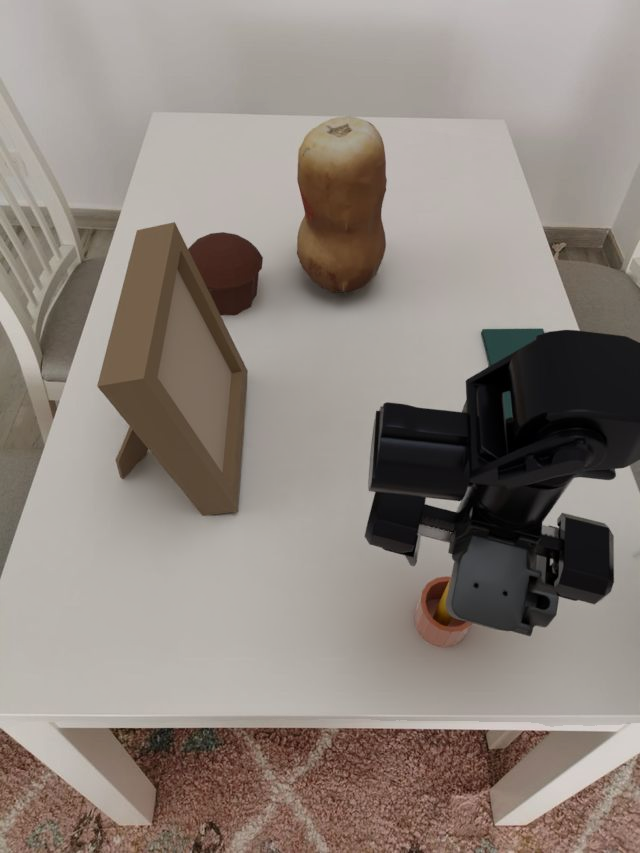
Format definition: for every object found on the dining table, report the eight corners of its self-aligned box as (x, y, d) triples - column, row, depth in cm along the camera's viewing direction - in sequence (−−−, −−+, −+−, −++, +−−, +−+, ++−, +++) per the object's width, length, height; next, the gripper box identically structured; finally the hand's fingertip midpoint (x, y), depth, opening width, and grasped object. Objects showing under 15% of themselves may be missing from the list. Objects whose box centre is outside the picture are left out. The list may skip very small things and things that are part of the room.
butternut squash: (289, 260, 101) (283, 105, 80) (368, 247, 103) (381, 93, 82) (309, 318, 93) (308, 162, 73) (394, 303, 95) (416, 148, 75)
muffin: (178, 314, 93) (165, 260, 85) (203, 267, 99) (194, 213, 91) (254, 327, 91) (248, 274, 83) (274, 279, 98) (271, 225, 90)
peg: (450, 613, 66) (471, 573, 57) (448, 630, 65) (469, 592, 56) (433, 609, 66) (452, 569, 57) (431, 625, 65) (449, 587, 56)
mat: (577, 443, 80) (580, 439, 79) (508, 444, 79) (510, 440, 79) (541, 332, 91) (543, 328, 91) (481, 332, 91) (482, 328, 91)
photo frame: (248, 375, 86) (227, 221, 66) (238, 515, 73) (209, 377, 53) (141, 376, 86) (87, 222, 65) (112, 516, 73) (35, 379, 53)
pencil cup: (469, 603, 67) (480, 584, 63) (463, 654, 64) (474, 638, 59) (418, 590, 68) (425, 570, 63) (409, 640, 65) (416, 623, 60)
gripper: (357, 555, 40) (341, 632, 52) (657, 636, 37) (564, 696, 50) (391, 421, 46) (370, 518, 59) (649, 483, 44) (569, 570, 56)
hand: (463, 574), depth 56 cm, fingers open, 9 cm apart
